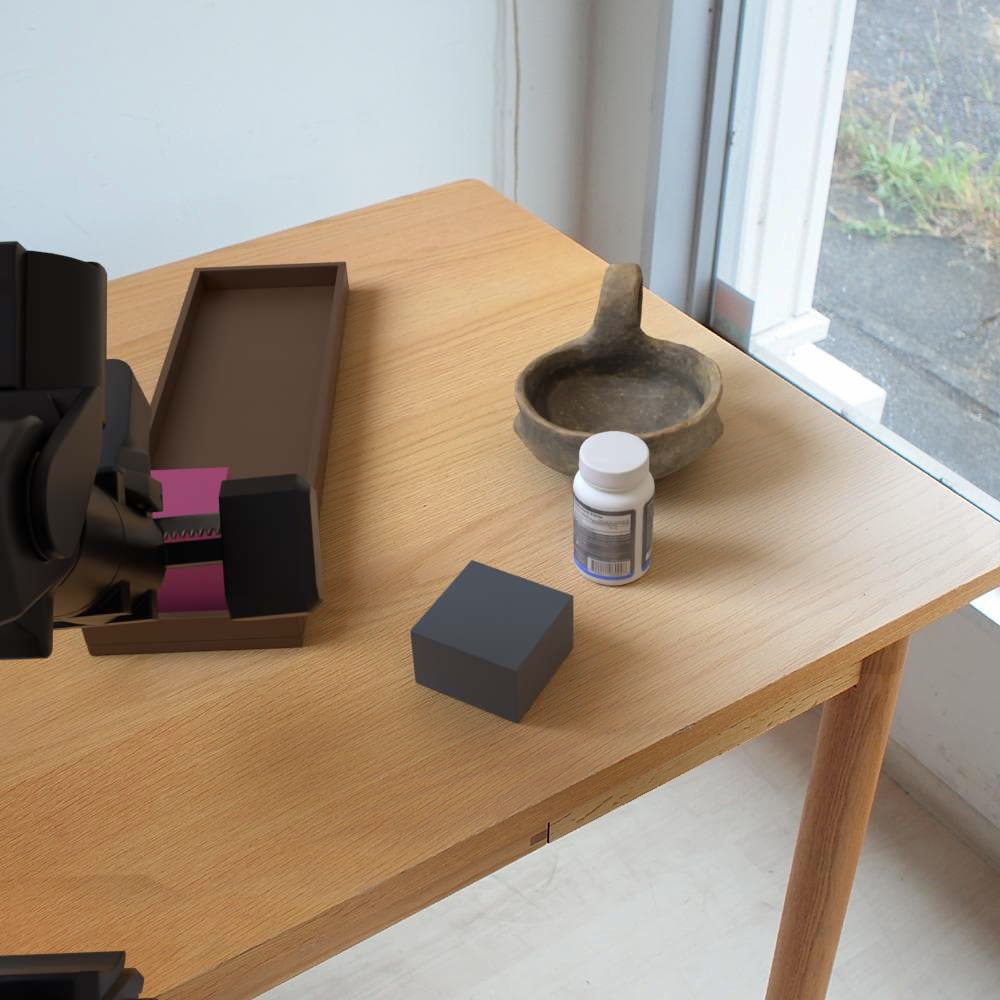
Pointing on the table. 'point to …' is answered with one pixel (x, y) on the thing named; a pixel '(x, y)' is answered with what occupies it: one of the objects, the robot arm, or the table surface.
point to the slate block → (493, 640)
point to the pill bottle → (613, 509)
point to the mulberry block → (190, 497)
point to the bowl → (619, 388)
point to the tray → (243, 415)
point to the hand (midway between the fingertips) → (157, 580)
